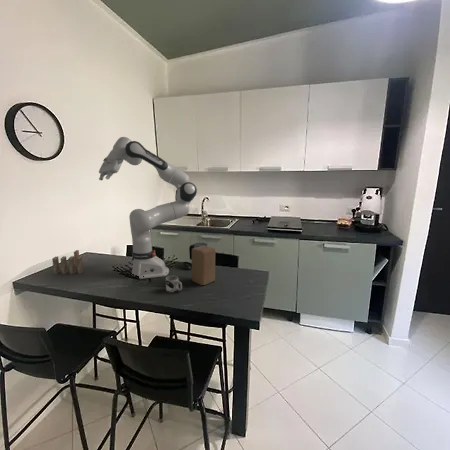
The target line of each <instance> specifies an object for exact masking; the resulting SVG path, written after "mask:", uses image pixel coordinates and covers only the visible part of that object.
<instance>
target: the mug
mask: <svg viewBox="0 0 450 450" xmlns="http://www.w3.org/2000/svg"><path fill="white" fill-rule="evenodd" d="M177 290H178V291H182V290H183V283H182V282H181V281H180V280H179V276H177V275H167V276H165V291H166V292H168V291H169V292H168V293H175V292H174V291H176V292H178V291H177Z"/></svg>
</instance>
